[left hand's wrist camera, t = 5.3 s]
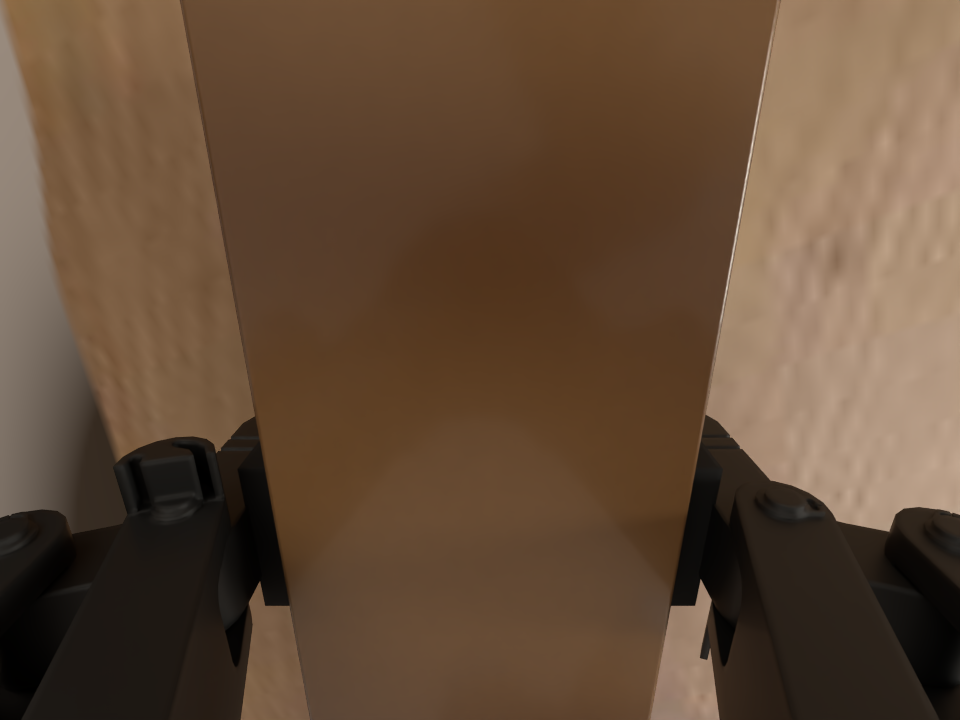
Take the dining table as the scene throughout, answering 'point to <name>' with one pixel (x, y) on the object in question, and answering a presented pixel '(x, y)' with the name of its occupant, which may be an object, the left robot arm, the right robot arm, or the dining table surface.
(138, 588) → the left robot arm
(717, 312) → the beam
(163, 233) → the dining table surface
